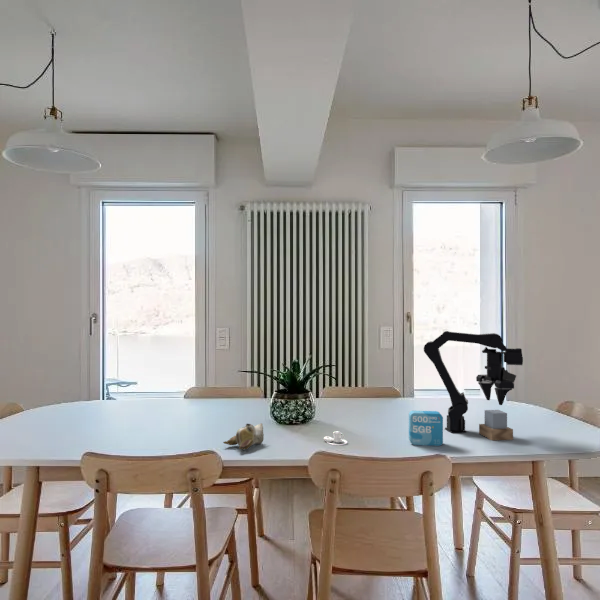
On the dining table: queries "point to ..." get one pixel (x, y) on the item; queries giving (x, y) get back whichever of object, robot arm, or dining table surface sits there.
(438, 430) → the data package
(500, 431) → the walnut block
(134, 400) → the dining table surface
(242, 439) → the ceramic sculpture
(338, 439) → the teacup and saucer
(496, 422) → the slate cube
